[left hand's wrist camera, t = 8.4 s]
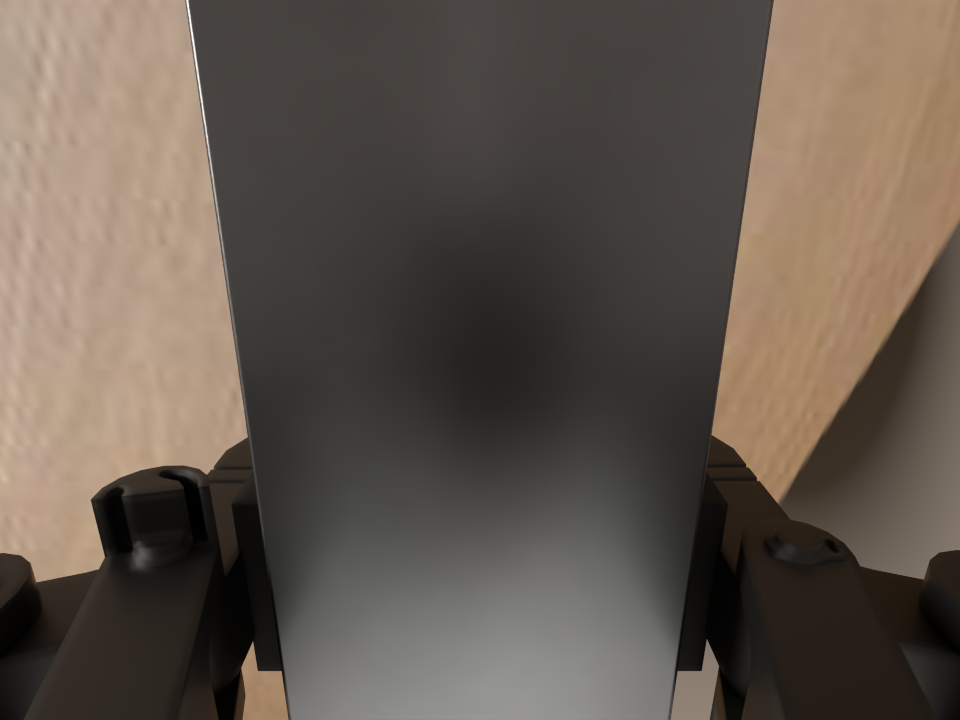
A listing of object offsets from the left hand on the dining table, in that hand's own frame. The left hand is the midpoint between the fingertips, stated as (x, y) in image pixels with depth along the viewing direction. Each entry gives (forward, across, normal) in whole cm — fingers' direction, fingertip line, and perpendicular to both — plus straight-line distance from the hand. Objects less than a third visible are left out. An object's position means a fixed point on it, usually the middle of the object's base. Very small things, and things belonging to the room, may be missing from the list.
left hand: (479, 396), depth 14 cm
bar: (+1, 0, -10) cm, 10 cm away
